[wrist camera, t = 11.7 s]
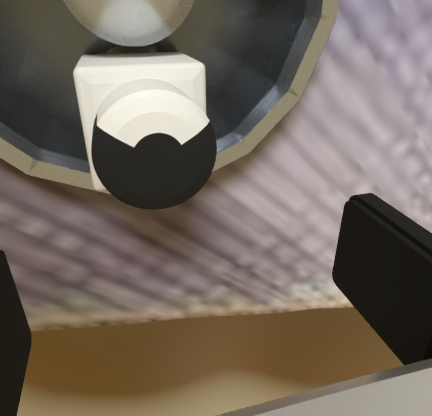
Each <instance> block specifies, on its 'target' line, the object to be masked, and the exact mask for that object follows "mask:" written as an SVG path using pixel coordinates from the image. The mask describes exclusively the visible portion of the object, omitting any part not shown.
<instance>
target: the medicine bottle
mask: <svg viewBox="0 0 432 416" xmlns="http://www.w3.org/2000/svg"><path fill="white" fill-rule="evenodd" d="M73 76H74V82H75V88H76V93H77V99H78V105H79V110H80V116H81V121H82V127H83V133H84V138H85V144H86V150H87V155H88V161H89V167H90V172H91V178H92V183H93V187H94V189H95V190H97V191H105V190H108V191H109V192H110V193H111V194H112V195H113V196H114V197H116V198H117V199H119V200H120V201H122V202H124V203H126V204H128V205H131V206H134V207H138V208H142V209H163V208H169V207H172V206H175V205H178V204H180V203H183V202H184V201H186V200H188V199H189V198H191V197H192V196H193V195H195V194H196V193H197V192H198V191H199V190H200V189H201V188H202V187H203V186H204V184H205V183H206V182H207V180H208V178H209V177H210V175H211V173H212V170H213V168H214V165H215V161H216V154H217V143H216V136H215V133H214V129H213V127H212V125H211V122H210V120H209V119H208V117H207V116H206V77H205V66H204V64H203V63H201V62H199V61H197V60H195V59H193V58H191V57H189V56H187V55H185V54H183V53H181V52H161V53H130V54H99V55H83V56H81V58H80V59H79V61H78V63H77V65H76V67H75V69H74V71H73Z"/></svg>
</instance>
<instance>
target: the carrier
mask: <svg viewBox="0 0 432 416" xmlns="http://www.w3.org/2000/svg"><path fill="white" fill-rule="evenodd" d="M338 1H339V0H0V158H1V159H3V160H5V161H6V162H8V163H9V164H11V165H13V166H14V167H16V168H18V169H19V170H21V171H22V172H24V173H26V174H27V175H28V174H29V175H30V176H35V177H39V178H43V179H48V180H52V181H56V182H60V183H65V184H69V185H73V186H77V187H82V188H86V189H90V190H95V189H94V187H93V183H92V178H91V172H90V167H89V161H88V155H87V150H86V144H85V138H84V133H83V127H82V121H81V116H80V110H79V105H78V99H77V93H76V88H75V82H74V76H73V71H74V69H75V67H76V65H77V63H78V61H79V59H80V58H81V56H83V55H99V54H130V53H161V52H181V53H183V54H185V55H187V56H189V57H191V58H193V59H195V60H197V61H199V62H201V63H203V64H204V66H205V77H206V116H207V117H208V119H209V120H210V122H211V125H212V127H213V129H214V133H215V136H216V143H217V154H216V161H215V165H214V168H213V170H212V172H213V171H215V170H217V169H219V168H221V167H223V166H225V165H227V164H229V163H231V162H233V161H235V160H237V159H239V158H241V157H243V156H244V155H246V154H248V153H250V152H251V151H252V150H253V149H254V148H255V147H256V145H257V144H258V143H259V142H260V141H261V140H262V139H263V138H264V137H265V136H266V135H267V134H268V133H269V132H270V131H271V129H272V128H273V127H274V126H275V125H276V124H277V123H278V122H279V121H280V120H281V119H282V118H283V117H284V116H285V114H286V113H287V112H288V111H289V110H290V109H291V108H292V107H293V106H294V105H295V104H296V103H297V102H298V101H299V100H300V98H301V96H302V94H303V92H304V90H305V87H306V85H307V83H308V81H309V79H310V76H311V74H312V72H313V70H314V68H315V66H316V63H317V61H318V59H319V57H320V55H321V52H322V50H323V48H324V46H325V44H326V41H327V39H328V37H329V35H330V33H331V30H332V28H333V26H334V24H335V22H336V16H337V8H338ZM95 191H97V190H95ZM99 192H103V193H107V194H111V193H110V192H109V191H108V190H105V191H99Z"/></svg>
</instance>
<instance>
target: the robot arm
mask: <svg viewBox="0 0 432 416" xmlns="http://www.w3.org/2000/svg"><path fill="white" fill-rule="evenodd" d="M332 277H333V281H334V283H335V284H336V286H337V287H338V288H339V289H340V290H341V292H342V293H343V294H344V295H345V296H346V297H347V299H348V300H349V301H350V302H351V303H352V304H353V306H354V307H355V308H356V309H357V310H358V311H359V313H360V314H361V315H362V316H363V317H364V318H365V320H366V321H367V322H368V323H369V324H370V326H371V327H372V328H373V329H374V330H375V331H376V333H377V334H378V335H379V336H380V337H381V338H382V340H383V341H384V342H385V343H386V344H387V345H388V347H389V348H390V349H391V350H392V351H393V353H394V354H395V355H396V356H397V357H398V358H399V360H400V361H401V362H402V363H403V364H404V366H401V367H397V368H393V369H389V370H385V371H382V372H377V373H374V374H370V375H366V376H362V377H358V378H355V379H351V380H348V381H344V382H340V383H336V384H332V385H329V386H325V387H321V388H317V389H314V390H310V391H306V392H302V393H298V394H295V395H291V396H288V397H284V398H280V399H276V400H273V401H269V402H265V403H262V404H258V405H254V406H250V407H246V408H243V409H239V410H235V411H231V412H228V413H224V414H221V415H217V416H432V233H430V232H429V231H427V230H426V229H424V228H423V227H422V226H420V225H419V224H417V223H416V222H414V221H413V220H411V219H410V218H408V217H407V216H405V215H404V214H402V213H401V212H399V211H398V210H396V209H395V208H393V207H392V206H391V205H389V204H388V203H386V202H385V201H383V200H382V199H380V198H379V197H377V196H376V195H374V194H372V193H367V194H360V195H353V196H351V197H350V199H349V201H347V202H346V203H345V205H344V210H343V216H342V221H341V227H340V232H339V238H338V244H337V249H336V255H335V260H334V266H333V271H332ZM30 348H31V331H30V328H29V325H28V322H27V319H26V316H25V313H24V310H23V307H22V304H21V301H20V298H19V295H18V292H17V289H16V286H15V283H14V280H13V277H12V274H11V271H10V268H9V265H8V262H7V259H6V256H5V254H4V252H3V251H2V250H0V416H17V411H18V406H19V401H20V396H21V391H22V387H23V382H24V377H25V372H26V367H27V362H28V358H29V353H30Z"/></svg>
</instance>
